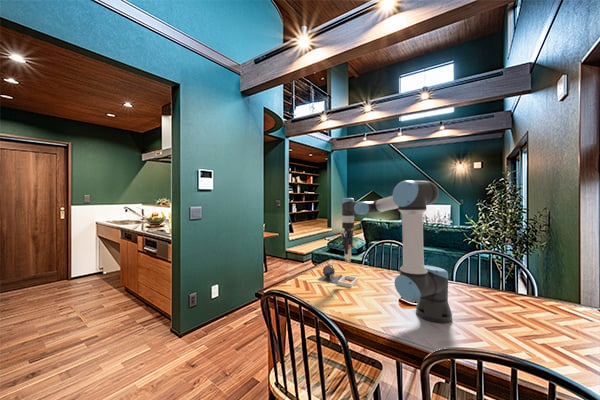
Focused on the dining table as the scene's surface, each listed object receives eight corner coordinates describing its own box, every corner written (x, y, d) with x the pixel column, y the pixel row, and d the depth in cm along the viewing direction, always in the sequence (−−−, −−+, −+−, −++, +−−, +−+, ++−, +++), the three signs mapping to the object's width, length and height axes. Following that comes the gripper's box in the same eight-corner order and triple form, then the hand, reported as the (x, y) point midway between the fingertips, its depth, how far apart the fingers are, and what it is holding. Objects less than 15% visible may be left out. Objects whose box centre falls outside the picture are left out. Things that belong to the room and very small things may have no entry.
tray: (351, 288, 147) (351, 283, 147) (337, 285, 152) (337, 281, 152) (358, 281, 158) (358, 277, 158) (345, 279, 163) (345, 275, 163)
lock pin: (349, 262, 152) (349, 245, 152) (344, 261, 154) (344, 245, 154) (351, 261, 155) (351, 244, 155) (346, 260, 157) (346, 244, 157)
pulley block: (338, 285, 152) (337, 271, 152) (317, 281, 160) (316, 268, 160) (345, 279, 163) (345, 266, 163) (325, 275, 171) (325, 263, 171)
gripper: (349, 223, 145) (349, 262, 146) (357, 221, 159) (357, 256, 160) (337, 223, 149) (337, 260, 150) (347, 220, 163) (346, 254, 164)
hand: (348, 258), depth 155 cm, fingers closed on lock pin, 3 cm apart
